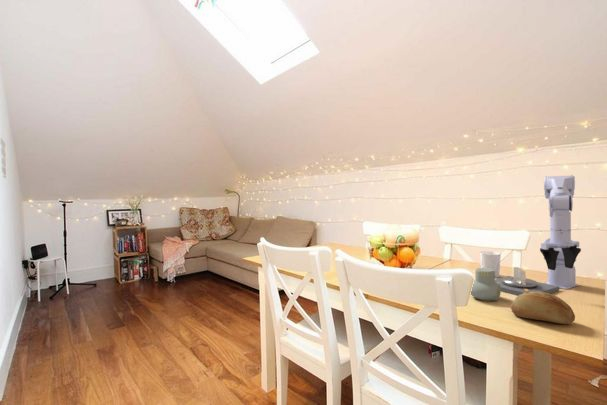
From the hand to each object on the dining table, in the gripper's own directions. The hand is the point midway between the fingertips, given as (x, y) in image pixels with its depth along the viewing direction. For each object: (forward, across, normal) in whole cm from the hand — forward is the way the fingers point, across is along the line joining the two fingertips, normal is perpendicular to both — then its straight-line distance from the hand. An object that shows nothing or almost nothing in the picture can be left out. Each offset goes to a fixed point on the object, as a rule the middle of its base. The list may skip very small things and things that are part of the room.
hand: (560, 268), depth 116 cm
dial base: (+9, -6, +11) cm, 16 cm away
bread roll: (+10, -26, -15) cm, 31 cm away
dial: (+8, -6, +11) cm, 15 cm away
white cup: (+10, -2, +30) cm, 31 cm away
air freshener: (+10, -26, +5) cm, 29 cm away
